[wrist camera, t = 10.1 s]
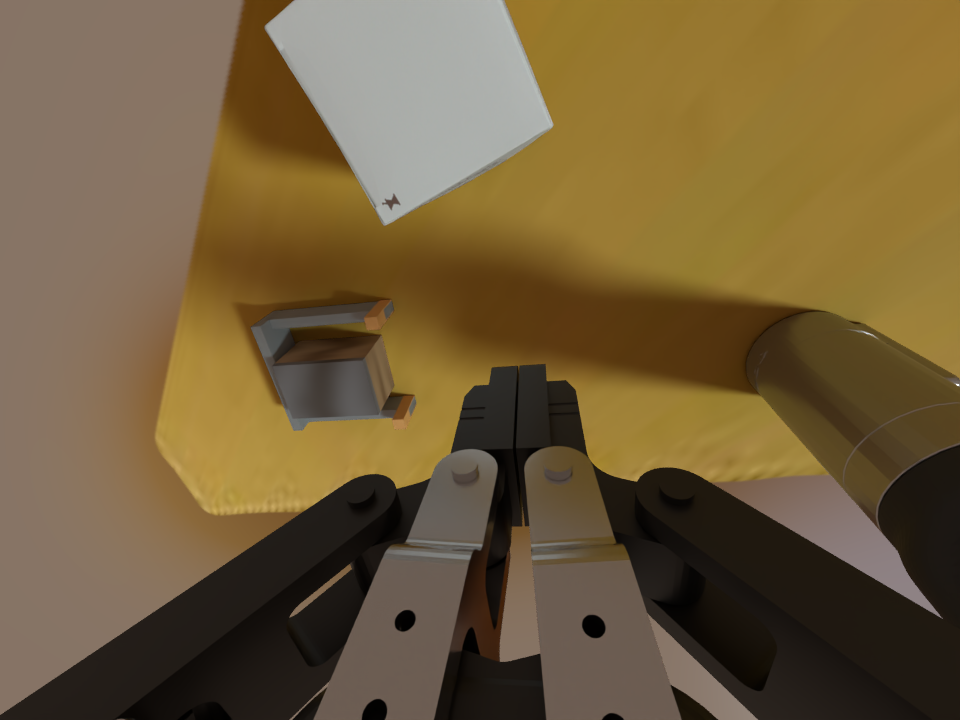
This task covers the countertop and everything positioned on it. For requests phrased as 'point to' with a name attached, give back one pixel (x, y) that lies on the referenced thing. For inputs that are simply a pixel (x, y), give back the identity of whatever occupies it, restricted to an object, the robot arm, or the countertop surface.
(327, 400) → the grey block
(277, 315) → the bay
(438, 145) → the supplement box
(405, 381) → the countertop surface
